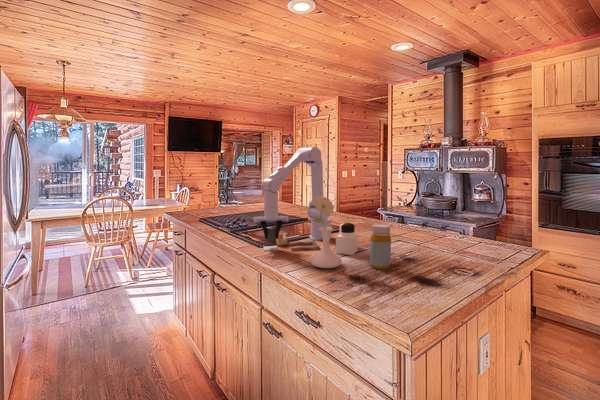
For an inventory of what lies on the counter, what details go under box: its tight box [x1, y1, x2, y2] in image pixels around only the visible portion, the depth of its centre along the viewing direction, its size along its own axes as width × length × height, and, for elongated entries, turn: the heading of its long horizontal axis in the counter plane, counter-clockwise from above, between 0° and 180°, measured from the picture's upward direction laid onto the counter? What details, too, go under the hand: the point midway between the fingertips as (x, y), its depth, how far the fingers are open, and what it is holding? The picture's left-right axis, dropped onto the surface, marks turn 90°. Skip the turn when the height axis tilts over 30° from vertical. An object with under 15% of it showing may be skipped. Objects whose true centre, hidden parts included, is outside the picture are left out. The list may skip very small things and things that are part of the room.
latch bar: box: [276, 232, 288, 247], centre depth 155 cm, size 4×10×5 cm, turn 10°
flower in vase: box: [309, 196, 343, 269], centre depth 121 cm, size 13×11×25 cm
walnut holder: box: [287, 240, 321, 252], centre depth 148 cm, size 12×10×1 cm
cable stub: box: [266, 227, 277, 245], centre depth 145 cm, size 4×4×6 cm
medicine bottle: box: [335, 222, 359, 256], centre depth 139 cm, size 7×7×12 cm
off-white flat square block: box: [262, 245, 278, 252], centre depth 145 cm, size 6×6×1 cm
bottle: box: [369, 223, 392, 271], centre depth 120 cm, size 7×7×15 cm
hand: (271, 238), depth 145 cm, fingers closed on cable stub, 4 cm apart
